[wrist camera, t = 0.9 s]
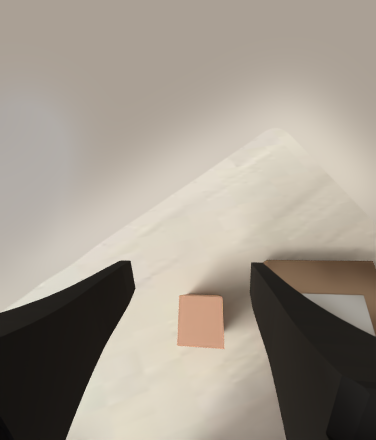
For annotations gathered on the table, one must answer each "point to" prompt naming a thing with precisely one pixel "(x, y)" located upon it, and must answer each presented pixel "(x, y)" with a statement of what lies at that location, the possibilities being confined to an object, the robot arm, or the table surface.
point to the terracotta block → (200, 321)
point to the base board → (335, 287)
